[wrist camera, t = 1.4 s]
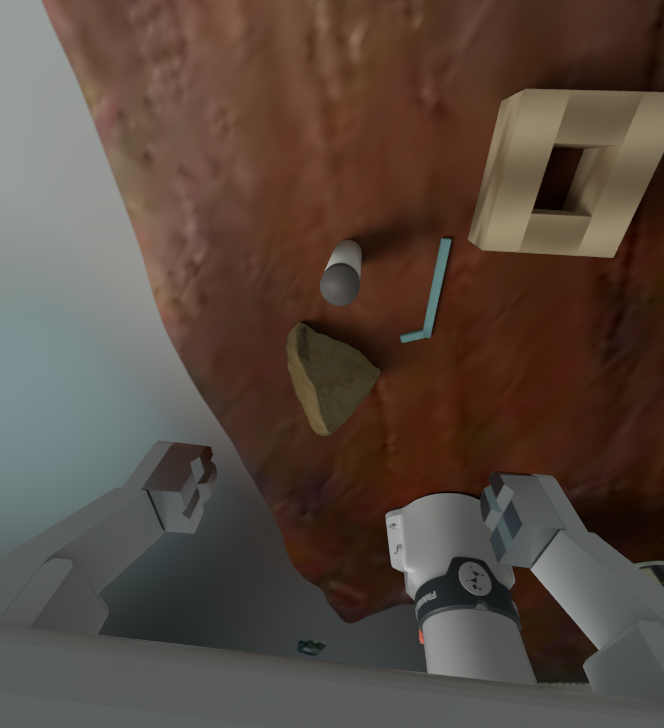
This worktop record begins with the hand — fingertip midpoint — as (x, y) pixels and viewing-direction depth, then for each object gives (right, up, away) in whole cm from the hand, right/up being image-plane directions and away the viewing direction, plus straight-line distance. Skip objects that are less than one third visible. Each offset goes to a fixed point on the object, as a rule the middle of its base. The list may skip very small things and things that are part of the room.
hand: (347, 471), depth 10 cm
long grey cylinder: (+1, +14, +22) cm, 26 cm away
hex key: (+9, +10, +23) cm, 27 cm away
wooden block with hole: (+17, +19, +17) cm, 31 cm away
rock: (0, +5, +28) cm, 28 cm away
